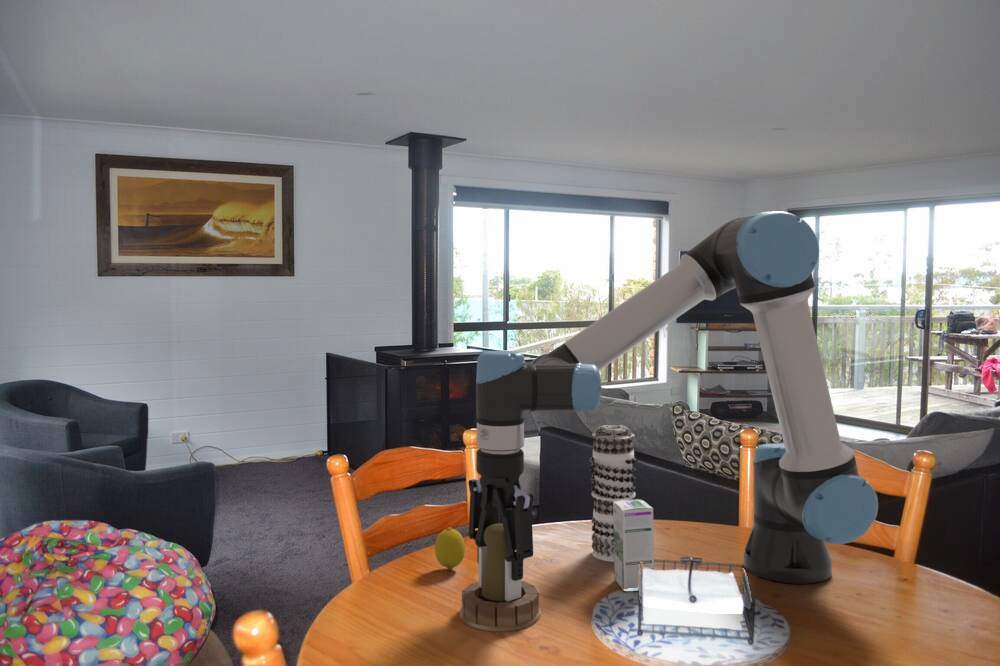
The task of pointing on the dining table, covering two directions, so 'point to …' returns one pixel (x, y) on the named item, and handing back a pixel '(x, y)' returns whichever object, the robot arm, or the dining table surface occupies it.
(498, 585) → the olive green knobbed peg
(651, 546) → the syrup box
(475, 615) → the collar
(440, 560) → the lemon
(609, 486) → the decorative candle
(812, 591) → the dining table surface
